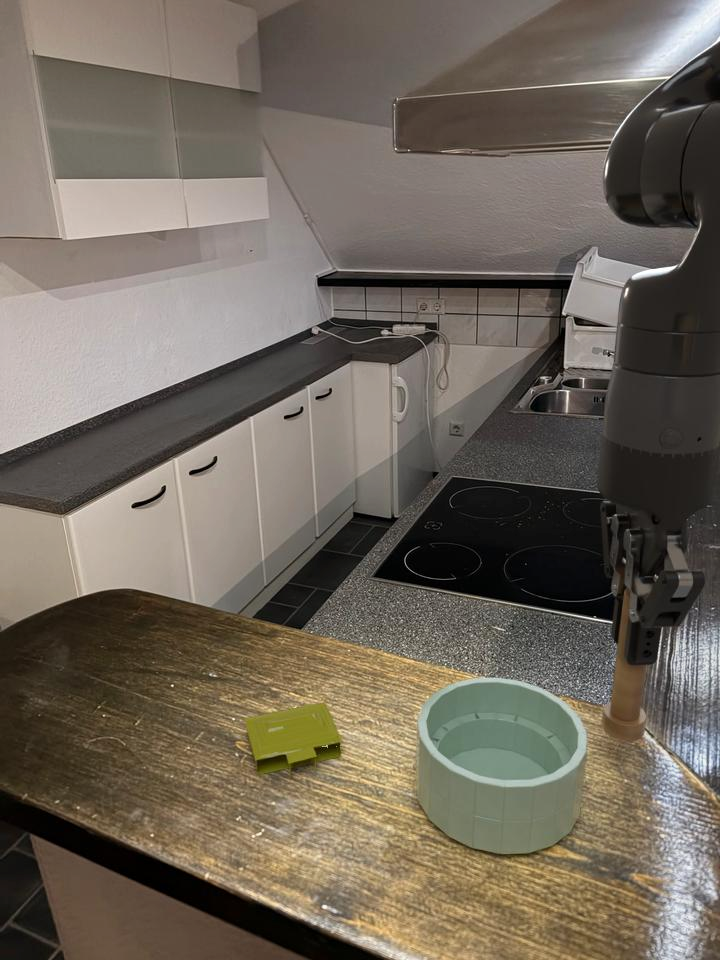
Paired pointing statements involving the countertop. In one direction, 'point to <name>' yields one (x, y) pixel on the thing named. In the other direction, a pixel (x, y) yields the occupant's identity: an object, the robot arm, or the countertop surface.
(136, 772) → the countertop surface
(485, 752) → the bowl
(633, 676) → the stirring stick
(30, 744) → the countertop surface
